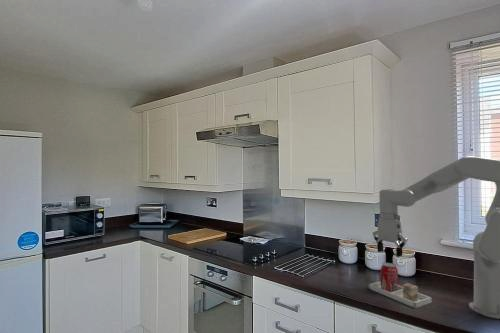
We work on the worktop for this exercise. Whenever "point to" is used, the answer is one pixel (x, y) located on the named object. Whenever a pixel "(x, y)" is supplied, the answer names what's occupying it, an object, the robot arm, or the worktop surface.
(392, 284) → the soda can
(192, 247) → the worktop surface
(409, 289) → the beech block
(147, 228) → the worktop surface
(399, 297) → the organiser tray
